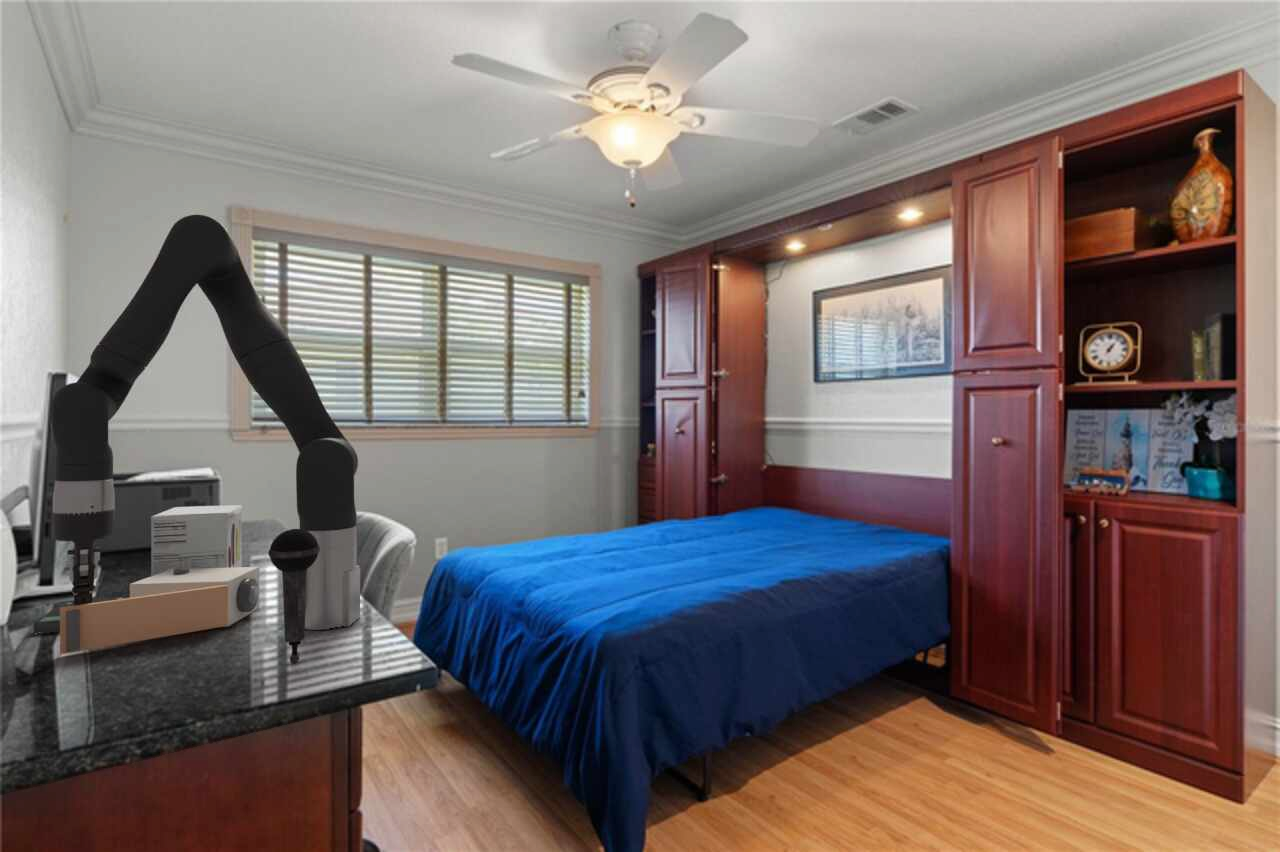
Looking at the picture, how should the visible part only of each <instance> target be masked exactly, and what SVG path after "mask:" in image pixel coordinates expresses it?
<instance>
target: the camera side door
mask: <svg viewBox="0 0 1280 852" xmlns="http://www.w3.org/2000/svg"><path fill="white" fill-rule="evenodd" d="M223 626H228V585H220V586H213V587H206V588H199V589H191V590H184V591H177V592H169V593H162V594H155V595H147V596H140V597H133V598H125V599H118V600H111V601H103V602H96V603H89V604H82V605H74V606H67V607H60V632H59V655H65V654H71V653H75V652H76V653H77V652H83V651H87V650H88V651H90V650H94V649H100V648H105V647H112V646H116V645H117V646H118V645H123V644H129V643H134V642H141V641H147V640H151V639H158V638H163V637H169V636H175V635H181V634H188V633H193V632H198V631H205V630H210V629H215V628H224V627H223ZM228 627H229V626H228Z"/></svg>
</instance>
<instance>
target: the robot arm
mask: <svg viewBox="0 0 1280 852" xmlns="http://www.w3.org/2000/svg"><path fill="white" fill-rule="evenodd" d="M196 285H198V287H199V288H200V290H201V291H202V292H203V293H204V295H205V297H206V298H207V300H208V301H209V302H210V304H211V306H212V307H213V308H214V311H215V313H216V314H217V318H218V319H219V322H220V325H221V328H222V331H223V333H224V336H225V339H226V342H227V343H228V346H229V349H230V351H231V353H232V354H233V356H234V359H235V361H236V363H237V364H238V366H239V367H240V369H241V371H242V373H243V374H244V375H245V377H246V380H247V381H248V382H249V384H250V385H251V387H252V388H253V390H254V391H255V392H256V393H257V394H258V396H259V397H260V398H261V399H262V400H263V402H265V404H266V405H267V406H268V408H270V410H272V412H273V413H274V415H276V417H278V419H280V421H281V423H282V424H283V425H284V426H285V428H286V429H287V431H288V432H289V434H290V436H291V438H292V440H293V442H294V444H295V446H296V448H297V450H298V452H299V454H298V457H297V460H296V468H295V475H296V476H295V482H296V483H295V484H296V510H297V516H298V521H299V529H302V530H305V531H308V532H309V533H311V534H312V535H313V536H314V537H315V538H316V540H317V542H318V546H319V547H320V551H319V552H318V556H317V558H316V560H315V562H314V563H313V564H312V565H311V566H310V567H309V568H308V569H307V576H306V606H305V630H307V631H308V630H309V631H310V630H311V631H321V630H324V629H325V630H331V629H330V628H333V629H336V628H335V627H338V628H341V627H340V626H344V627H351V626H352V625H353V624H354V623H355V622H356V621H357V620H358V619H359V618H360V617H361V566H360V565H358V564H357V510H356V503H355V475H356V473H357V471H358V467H359V458H358V455H357V452H356V451H355V448H354V447H353V446H352V445H351V442H349V441H348V439H347V437H345V435H344V433H343V432H342V431H341V430H340V429H339V427H338V426H337V424H336V423H335V421H334V420H333V419H332V417H331V416H330V414H329V412H328V411H327V409H326V407H325V406H324V404H323V402H322V399H321V398H320V395H319V393H318V390H317V388H316V386H315V384H314V381H313V379H312V378H311V376H310V374H309V372H308V369H307V368H306V366H305V364H304V362H303V360H302V358H301V357H300V355H299V353H298V351H297V350H296V348H295V346H294V343H292V341H291V338H290V336H288V334H287V332H286V331H285V330H284V327H282V325H281V324H280V322H279V321H278V319H277V318H276V317H275V315H273V313H272V311H270V309H269V308H268V307H267V305H266V304H265V303H264V302H263V300H262V299H261V297H260V296H259V294H258V293H257V291H256V289H255V286H254V285H253V283H252V281H251V279H250V277H249V275H248V272H247V270H246V268H245V265H244V263H243V261H242V258H241V256H240V254H239V250H238V248H237V245H236V243H235V241H234V240H233V238H232V236H231V234H230V233H229V231H228V230H227V228H226V227H225V226H224V225H223V224H222V223H221V222H220V221H218V220H217V219H216V218H213V217H211V216H207V215H204V214H189V215H187V216H184V217H182V218H180V219H178V220H177V221H176V222H175V223H174V224H172V227H171V228H170V230H169V232H168V234H167V236H166V237H165V240H164V242H163V244H162V245H161V248H160V250H159V253H158V254H157V256H156V258H155V260H154V261H153V264H152V266H151V267H150V270H149V271H148V273H147V274H146V276H145V278H144V280H143V281H142V283H141V285H140V287H138V289H137V291H136V293H135V294H134V295H133V297H132V298H131V300H130V302H129V303H128V304H127V306H125V309H124V310H123V311H122V312H121V314H119V317H118V318H116V320H115V321H114V323H113V324H112V325H111V327H110V328H109V329H108V331H107V332H106V333H105V335H104V336H103V337H102V338H101V340H100V341H99V342H98V344H97V345H96V346H95V348H94V349H93V351H92V353H91V354H90V359H89V360H90V363H89V364H88V366H87V367H86V368H85V370H84V371H83V373H82V374H81V376H80V377H79V378H78V379H77V380H76V382H72V383H68V384H66V385H63V386H62V387H61V388H59V389H58V390H57V391H56V393H55V394H54V396H53V397H52V401H51V407H50V417H51V425H52V431H53V432H52V433H53V439H54V445H55V449H56V454H55V471H54V472H55V473H54V474H55V475H54V480H55V482H54V489H53V494H52V533H51V534H52V535H51V536H52V539H53V540H55V541H57V542H72V543H73V544H74V548H73V549H68V550H67V561H66V562H67V564H68V566H69V567H68V568H69V571H68V573H69V577H68V578H69V582H71V585H72V588H71V593H72V594H73V596H74V597H73V601H74V605H82V604H89V603H92V600H93V593H94V592H95V590H96V589H95V588H96V585H95V580H96V579H97V578H98V577H99V571H98V570H99V561H100V560H101V548H100V546H99V547H94V542H95V541H96V540H98V539H105V538H106V539H107V538H109V537H112V536H113V535H114V534H115V516H116V515H115V511H116V510H115V507H116V505H115V504H116V503H115V502H116V499H115V498H116V497H115V494H116V493H115V486H114V454H113V448H112V447H111V446H110V443H109V421H110V420H112V418H113V417H115V415H116V414H117V412H118V411H119V410H120V408H121V407H122V405H123V404H124V401H125V400H126V398H127V397H128V395H129V393H130V391H131V389H132V388H133V386H134V384H135V381H137V379H138V378H139V377H140V375H141V374H142V373H143V372H144V371H145V369H146V368H147V367H148V365H149V364H150V363H151V361H153V359H154V357H155V356H156V355H157V353H158V352H159V351H160V349H162V346H163V345H164V343H165V341H166V339H167V338H168V335H170V332H171V330H172V328H173V325H174V323H175V320H176V318H177V316H178V312H179V311H180V310H181V307H182V305H183V303H184V302H185V300H186V299H187V297H188V296H189V294H190V293H191V291H192V290H193V289H194V288H195V286H196ZM352 623H353V624H352ZM351 624H352V625H351ZM350 625H351V626H350Z"/></svg>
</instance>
